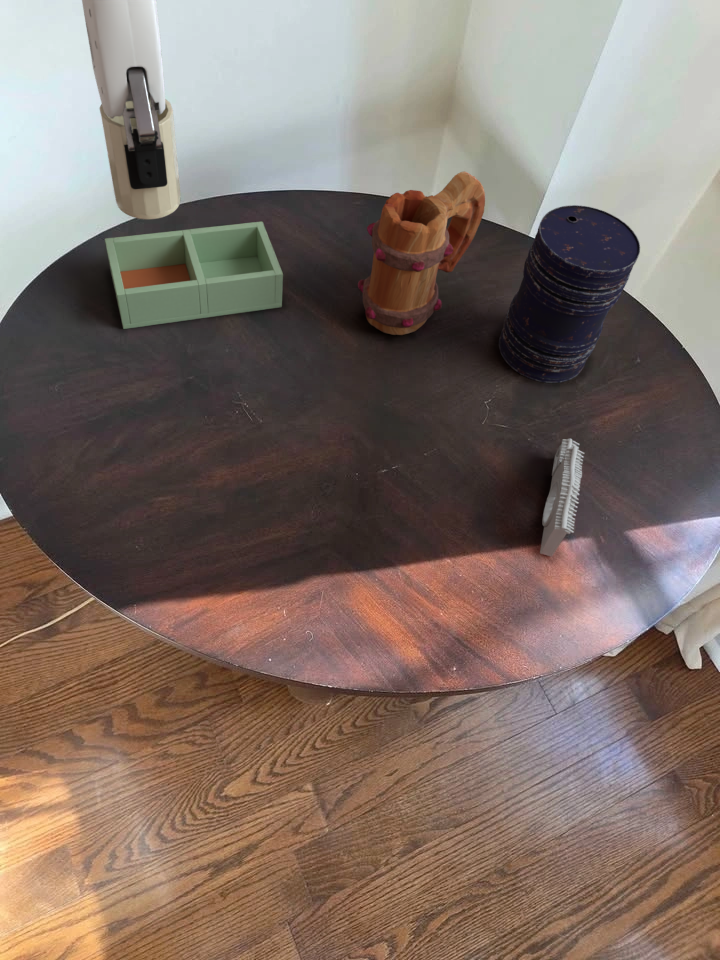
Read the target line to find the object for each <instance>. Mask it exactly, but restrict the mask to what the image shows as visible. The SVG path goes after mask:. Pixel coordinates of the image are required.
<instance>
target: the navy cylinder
mask: <svg viewBox="0 0 720 960" xmlns="http://www.w3.org/2000/svg"><path fill="white" fill-rule="evenodd" d="M640 245H641V244H640V240H639V238H638V236H637V234H636V233H635V232H634V231H633V229H632V228H631V227H630V226H629V225H628V224H627V223H626V222H624V221H623V220H621V219H620V218H618V217H617V216H615V215H613V214H611V213H610V212H608V211H605V210H603V209H599V208H596V207H593V206H586V205H577V204H576V205H575V204H574V205H571V204H570V205H563V206H558V207H556V208H553V209H551V210H549V211H548V212H547V213H545V214H544V215H543V217H542V218H541V220H540V222H539V225H538V228H537V232H536V234H535V236H534V238H533V240H532V242H531V245H530V246H529V247H530V248H529V250H528V253H527V257H526V259H525V261H524V265H523V275H522V277H523V278H522V280H521V283H520V285H519V288H518V291H516V293H515V294H514V295H513V298H512V300H511V302H510V305H509V307H508V310H507V312H506V314H505V317H504V321H503V328H502V330H501V332H500V334H499V339H498V349H499V352H500V354H501V356H502V358H503V360H504V361H505V363H506V364H507V365H508V366H509V367H510V368H511V369H513V370H514V371H515V372H517V373H518V374H520V375H521V376H523V377H526V378H527V379H531V380H533V381H536V382H539V383H546V384H556V383H564V382H567V381H570V380H572V379H574V378H575V377H578V375H579V374H580V373H581V372H582V370H583V369H584V367H585V365H586V362H587V360H588V359H589V357H590V356H591V354H592V353H593V352H594V350H595V347H596V345H597V343H598V340H599V339H600V336H601V334H602V331H603V328H604V322H605V319H606V318H607V315H608V313H609V312H610V310H611V309H612V308H613V307H614V306H615V304H616V303H617V302H618V300H619V299H620V297H621V295H622V291H623V290H624V289H625V287H626V285H627V283H628V281H629V279H630V276H631V272H632V270H633V268H634V266H635V264H636V262H637V260H638V258H639V256H640V253H641V246H640Z"/></svg>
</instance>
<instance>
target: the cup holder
mask: <svg viewBox="0 0 720 960" xmlns="http://www.w3.org/2000/svg"><path fill="white" fill-rule="evenodd" d="M104 243H105V248H106V253H107V260H108V264H109V269H110V275H111V277H112V278H111V279H112V283H113V288H114V293H115V298H116V302H117V306H118V311H119V316H120V319H121V325H122V329H123V330H127V329H136V328H141V327H149V326H157V325H163V324H171V323H177V322H184V321H193V320H199V319H206V318H213V317H220V316H227V315H235V314H243V313H251V312H256V311H263V310H270V309H271V310H272V309H278V308H282V306H283V284H284V281H283V280H284V274H283V271H282V268H281V266H280V263H279V260H278V258H277V255H276V253H275V249H274V247H273V245H272V242H271V240H270V237H269V235H268V232H267V230H266V226H265V224H264V222H263V221H256V222H255V221H253V222H245V223H236V224H235V223H234V224H227V225H218V226H208V227H199V228H190V229H182V230H181V229H180V230H173V231H163V232H155V233H145V234H136V235H135V234H133V235H126V236H118V237H116V236H115V237H108V238H107V237H106V238H104Z"/></svg>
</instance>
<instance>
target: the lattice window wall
mask: <svg viewBox="0 0 720 960" xmlns="http://www.w3.org/2000/svg"><path fill="white" fill-rule="evenodd" d="M579 446H580V443H578V442H576V440H573V439H572V438H571V437H570V438H567V439H565V438H563V439H562V440H561V444H559V447H558V448H557V451H556V452H555V455H554V459H553V466H552V471H551V476H552V477H551V482H550V487H549V492H548V495H547V498H546V501H545V505H544V508H543V514H542V519H541V520H542V521H541V523H542V526H543V532H542V538H541V543H540V549H539V554H541V555H544V556H547V557H550V558H553V556H554V555H555V554H556V551H557V550H558V548H559V547H560V545H561V543H562V542H563V541H564V539H565V537H566V536H567V535H571V533H572V534H574V533H575V521H576V518H574V517H576V516H577V514H576V513H577V511H578V510H576V509H578V506H577V505H579V504H580V502H578V501H579V498H578V496H580V493H579V492H580V491H581V489H580V488H581V481H582V478H583V464H584V463H583V462H584V458H585V456H584V455H585V452H584V451H582V450H580V447H579ZM576 504H577V505H576ZM573 516H574V517H573Z"/></svg>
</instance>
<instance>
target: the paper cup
mask: <svg viewBox="0 0 720 960" xmlns="http://www.w3.org/2000/svg"><path fill="white" fill-rule="evenodd" d="M149 103H150V102H149ZM126 108H133V103H132V101H127V102H126ZM98 109H99V113H100V120H101V125H102V131H103V137H104V142H105V143H104V144H105V149H106V155H107V160H108V166H109V171H110V177H111V183H112V188H113V196H114V199H115V200H114V201H115V204H116V206H117V208H118V209H119V210H120V211H121V212H122V213H123V214H125V215H127V216H129V217H132V218H135V219H139V220H156V219H162V218H164V217H167V216H169V215H171V214H173V213H174V212H175V211H176V210H177V209H178V208H179V206H180V204H181V201H182V200H181V199H182V198H181V196H182V193H181V182H180V172H179V163H178V151H177V150H178V149H177V141H176V139H177V138H176V128H175V119H174V110H173V107H172V104H171V102H170V101H168V99H166V98H165V110H164V111H163V113H162V114H160V115H159V114H158V112H157V116H158V123H159V130H160V136H161V142H163V146H164V155H165V164H166V174H167V185H166V186H164V187H155V188H145V189H133V188H131V185H130V181H129V174H128V168H127V161H126V155H125V148H124V145H127V140H126V134H125V128H124V122H123V116H118V117H114V118H110V117H108V116H107V115H106V114H105V112H104V110H103V106H102V103H101V104H100V106H99V108H98ZM130 121H131V127H132V133H133V129H137V127H136V118H130Z"/></svg>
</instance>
